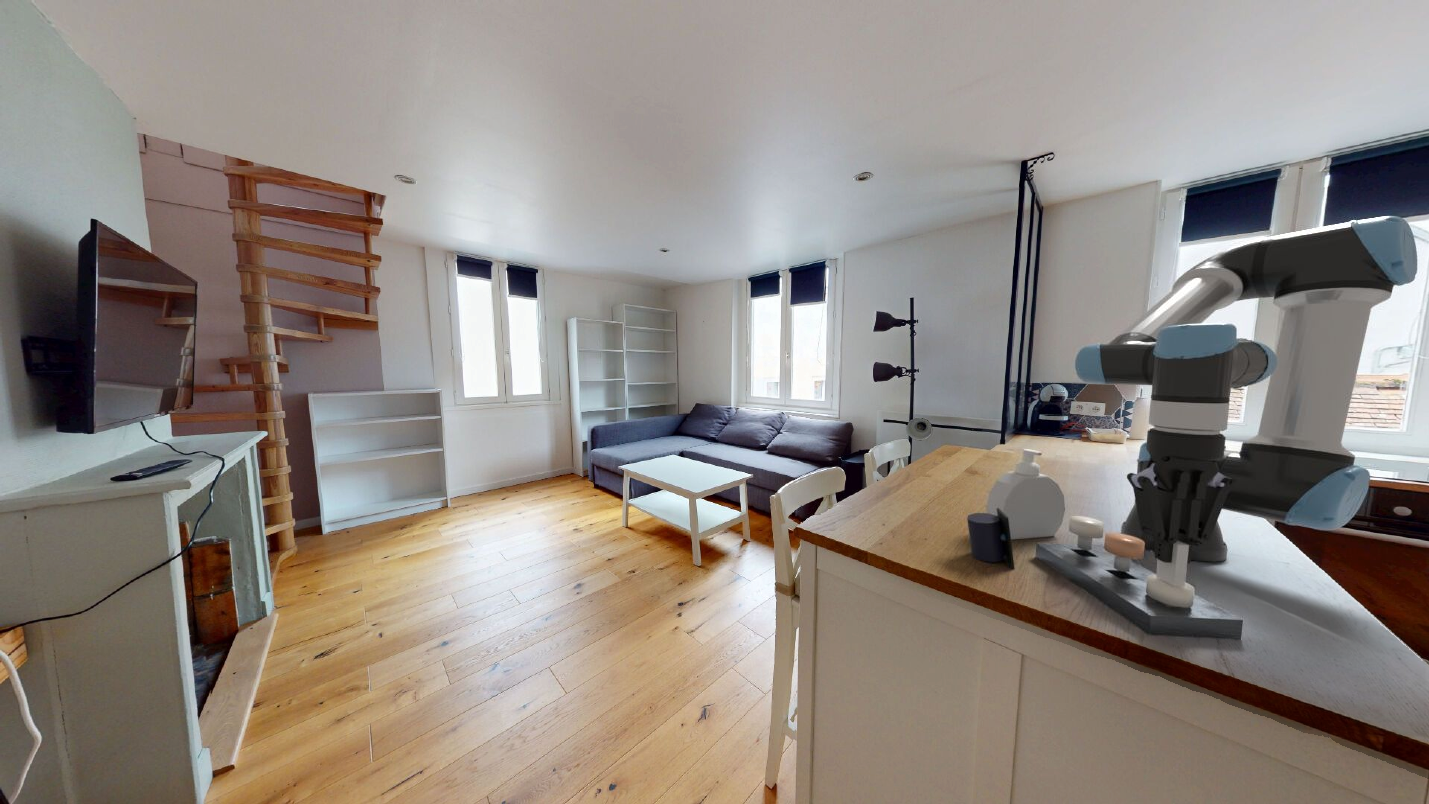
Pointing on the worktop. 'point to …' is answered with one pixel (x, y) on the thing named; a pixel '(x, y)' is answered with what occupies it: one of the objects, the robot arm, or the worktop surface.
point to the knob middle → (1124, 549)
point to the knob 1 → (1086, 530)
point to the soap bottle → (1028, 500)
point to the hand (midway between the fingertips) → (1169, 581)
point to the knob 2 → (1169, 593)
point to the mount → (1136, 594)
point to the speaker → (990, 537)
